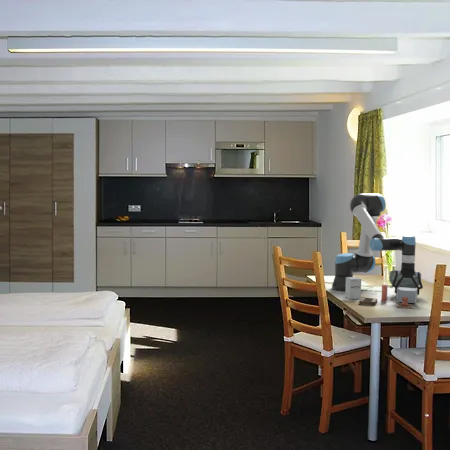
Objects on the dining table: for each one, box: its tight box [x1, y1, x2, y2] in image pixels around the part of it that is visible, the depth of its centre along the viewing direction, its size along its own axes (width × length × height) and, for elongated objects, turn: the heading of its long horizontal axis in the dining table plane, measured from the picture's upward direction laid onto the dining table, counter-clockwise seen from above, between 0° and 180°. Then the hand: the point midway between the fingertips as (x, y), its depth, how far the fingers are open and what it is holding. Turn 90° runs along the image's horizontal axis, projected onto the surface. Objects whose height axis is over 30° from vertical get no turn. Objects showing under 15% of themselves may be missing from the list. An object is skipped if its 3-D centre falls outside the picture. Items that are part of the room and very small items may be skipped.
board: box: [396, 297, 414, 310], centre depth 361 cm, size 8×8×6 cm
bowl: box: [388, 269, 422, 297], centre depth 393 cm, size 20×19×15 cm
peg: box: [381, 284, 388, 303], centre depth 376 cm, size 3×3×10 cm
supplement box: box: [344, 276, 362, 300], centre depth 385 cm, size 7×7×13 cm
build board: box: [358, 296, 378, 307], centre depth 370 cm, size 11×9×2 cm
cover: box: [396, 287, 417, 304], centre depth 371 cm, size 10×10×7 cm
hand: (406, 299), depth 371 cm, fingers closed on cover, 10 cm apart
